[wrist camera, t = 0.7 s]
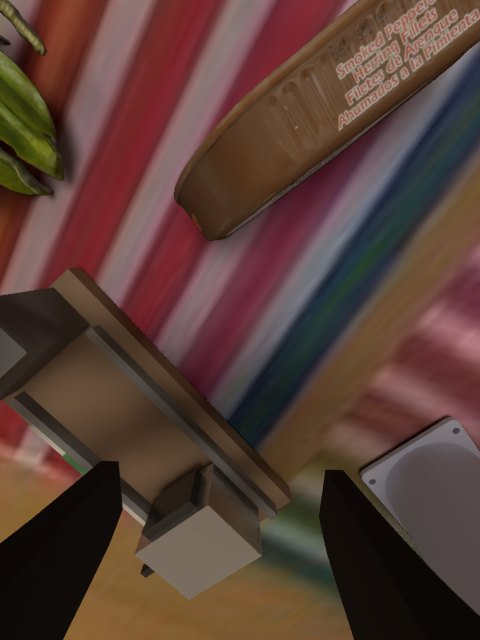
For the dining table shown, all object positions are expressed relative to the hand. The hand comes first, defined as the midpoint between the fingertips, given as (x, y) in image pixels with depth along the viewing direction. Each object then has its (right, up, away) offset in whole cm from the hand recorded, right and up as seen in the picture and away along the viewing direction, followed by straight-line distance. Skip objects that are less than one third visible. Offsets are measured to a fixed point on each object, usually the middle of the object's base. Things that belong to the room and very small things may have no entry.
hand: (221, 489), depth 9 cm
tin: (+5, +16, +6) cm, 17 cm away
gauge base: (-6, -2, +10) cm, 12 cm away
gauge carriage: (-3, -8, +10) cm, 13 cm away
